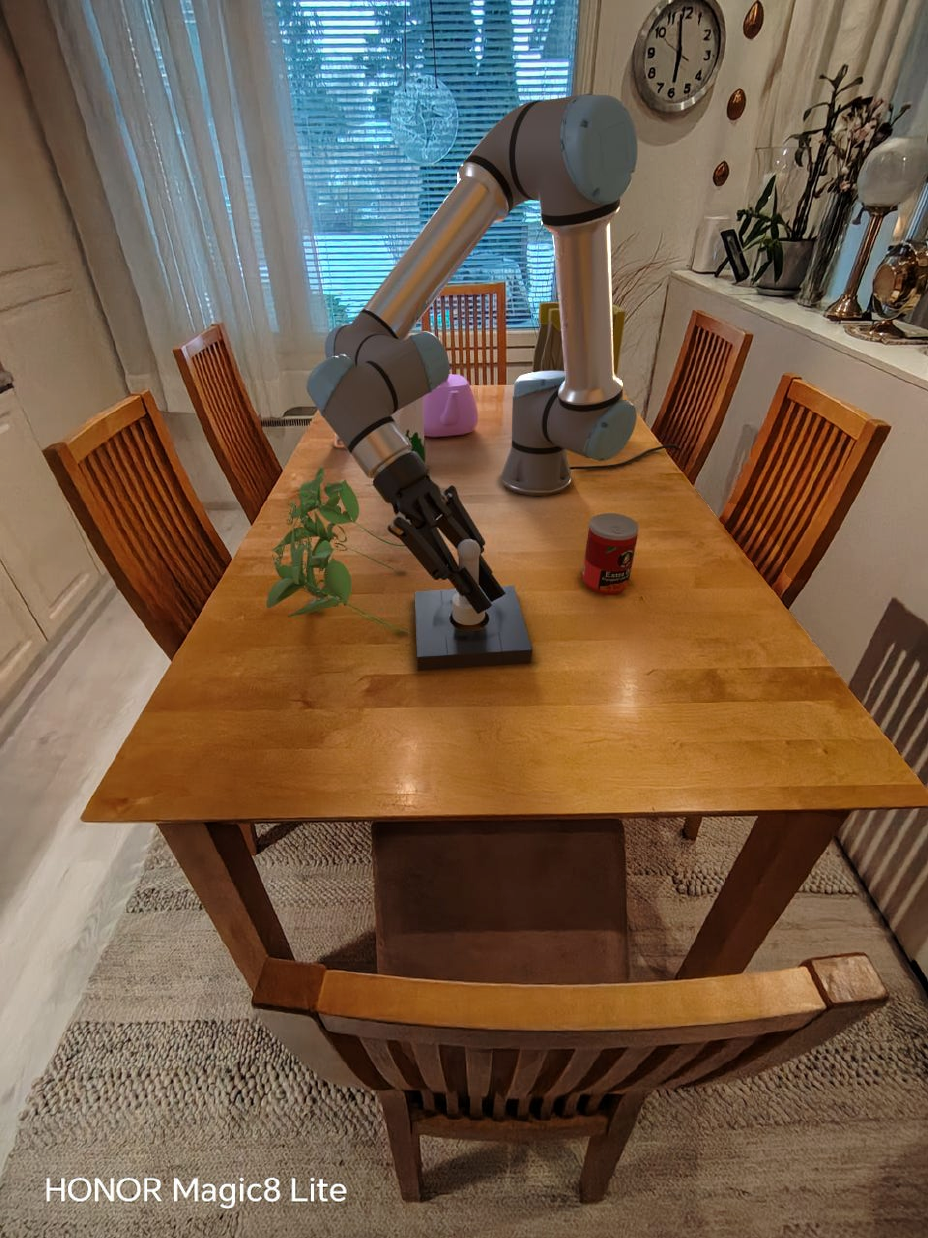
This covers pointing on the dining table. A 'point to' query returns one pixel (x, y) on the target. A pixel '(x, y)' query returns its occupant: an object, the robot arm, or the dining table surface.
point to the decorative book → (550, 338)
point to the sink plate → (469, 633)
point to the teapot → (450, 408)
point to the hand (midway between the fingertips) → (491, 603)
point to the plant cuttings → (318, 548)
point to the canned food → (609, 552)
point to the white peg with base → (470, 560)
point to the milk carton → (412, 425)
